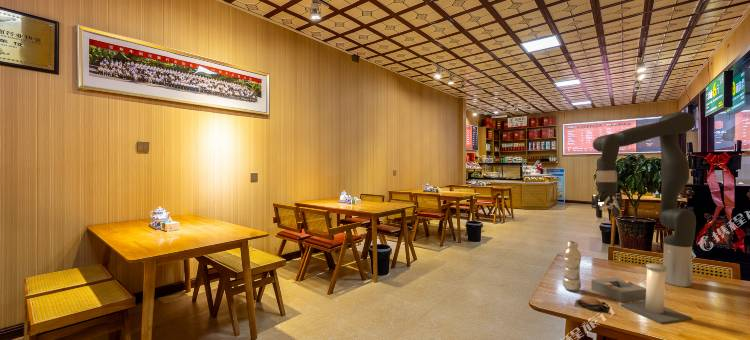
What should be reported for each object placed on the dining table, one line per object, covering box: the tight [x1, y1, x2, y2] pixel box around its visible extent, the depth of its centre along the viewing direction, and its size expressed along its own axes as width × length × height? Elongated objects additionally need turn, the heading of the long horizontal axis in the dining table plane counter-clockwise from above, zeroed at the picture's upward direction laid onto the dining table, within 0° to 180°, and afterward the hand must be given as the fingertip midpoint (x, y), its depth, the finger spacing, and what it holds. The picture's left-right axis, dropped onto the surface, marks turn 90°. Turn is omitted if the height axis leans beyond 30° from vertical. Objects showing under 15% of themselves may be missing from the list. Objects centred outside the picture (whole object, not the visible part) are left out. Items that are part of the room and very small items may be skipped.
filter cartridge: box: [645, 262, 667, 314], centre depth 117 cm, size 6×6×16 cm
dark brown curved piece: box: [573, 296, 611, 314], centre depth 122 cm, size 11×8×4 cm
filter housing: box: [590, 277, 646, 303], centre depth 133 cm, size 13×13×5 cm
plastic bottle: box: [562, 240, 582, 292], centre depth 137 cm, size 6×7×20 cm
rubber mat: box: [619, 300, 693, 325], centre depth 117 cm, size 14×14×1 cm
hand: (607, 217), depth 146 cm, fingers open, 8 cm apart
